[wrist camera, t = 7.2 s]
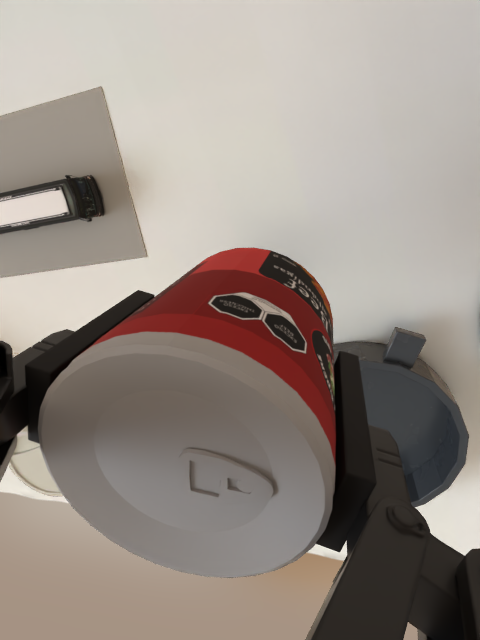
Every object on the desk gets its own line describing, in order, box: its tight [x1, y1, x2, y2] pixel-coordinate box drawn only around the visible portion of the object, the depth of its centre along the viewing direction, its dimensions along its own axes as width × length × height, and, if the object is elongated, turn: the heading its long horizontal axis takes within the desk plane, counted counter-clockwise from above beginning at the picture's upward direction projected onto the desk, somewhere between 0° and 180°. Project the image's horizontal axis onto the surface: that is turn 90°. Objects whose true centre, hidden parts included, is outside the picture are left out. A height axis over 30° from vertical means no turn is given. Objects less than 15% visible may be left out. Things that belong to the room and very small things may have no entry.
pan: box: [333, 327, 469, 507], centre depth 36 cm, size 17×23×4 cm
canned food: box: [38, 248, 336, 578], centre depth 14 cm, size 8×8×11 cm
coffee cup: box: [8, 426, 63, 497], centre depth 38 cm, size 9×8×12 cm
